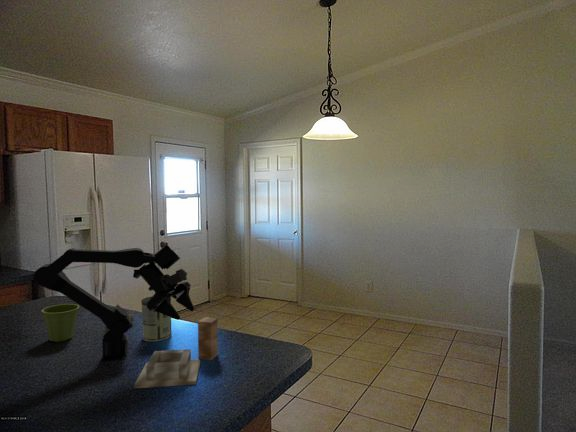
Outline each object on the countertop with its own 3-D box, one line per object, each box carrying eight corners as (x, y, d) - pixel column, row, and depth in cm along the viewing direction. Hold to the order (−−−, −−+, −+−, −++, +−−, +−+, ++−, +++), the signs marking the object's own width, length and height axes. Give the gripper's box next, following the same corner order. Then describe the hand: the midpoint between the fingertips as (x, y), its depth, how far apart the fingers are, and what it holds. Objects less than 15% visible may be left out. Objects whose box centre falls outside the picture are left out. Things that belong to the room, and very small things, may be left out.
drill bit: (136, 327, 150) (118, 314, 144) (125, 331, 151) (107, 319, 145) (139, 316, 154) (121, 303, 148) (128, 320, 156) (111, 308, 149)
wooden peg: (198, 359, 119) (197, 321, 118) (204, 353, 123) (204, 317, 122) (211, 360, 117) (211, 322, 117) (217, 354, 122) (217, 318, 121)
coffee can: (150, 331, 144) (149, 295, 143) (176, 332, 143) (175, 295, 142) (136, 341, 134) (135, 302, 133) (164, 342, 133) (163, 303, 132)
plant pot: (50, 347, 128) (49, 315, 128) (36, 339, 135) (35, 309, 135) (86, 337, 138) (85, 307, 137) (71, 330, 145) (70, 302, 144)
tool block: (134, 388, 100) (134, 369, 100) (146, 365, 114) (146, 349, 114) (195, 384, 102) (195, 366, 102) (200, 362, 116) (200, 346, 116)
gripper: (154, 267, 113) (187, 305, 111) (185, 258, 131) (214, 291, 129) (132, 291, 115) (164, 330, 113) (165, 279, 133) (194, 312, 131)
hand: (186, 314), depth 122 cm, fingers open, 9 cm apart
